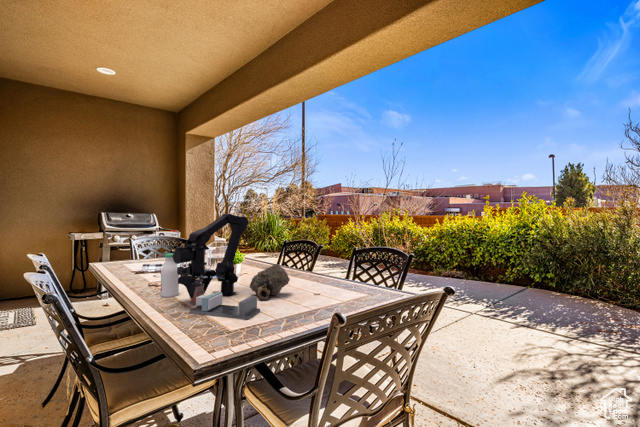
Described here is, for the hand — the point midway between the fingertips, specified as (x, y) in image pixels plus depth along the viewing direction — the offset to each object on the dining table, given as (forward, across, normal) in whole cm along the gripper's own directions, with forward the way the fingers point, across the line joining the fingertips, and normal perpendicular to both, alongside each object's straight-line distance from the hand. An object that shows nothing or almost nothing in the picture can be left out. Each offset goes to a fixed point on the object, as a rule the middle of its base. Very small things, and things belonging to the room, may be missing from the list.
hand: (197, 295), depth 137 cm
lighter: (+3, 0, 0) cm, 3 cm away
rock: (+3, -18, +25) cm, 31 cm away
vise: (+3, +8, +19) cm, 21 cm away
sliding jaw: (+1, +8, +11) cm, 14 cm away
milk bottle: (+3, -6, -20) cm, 21 cm away
